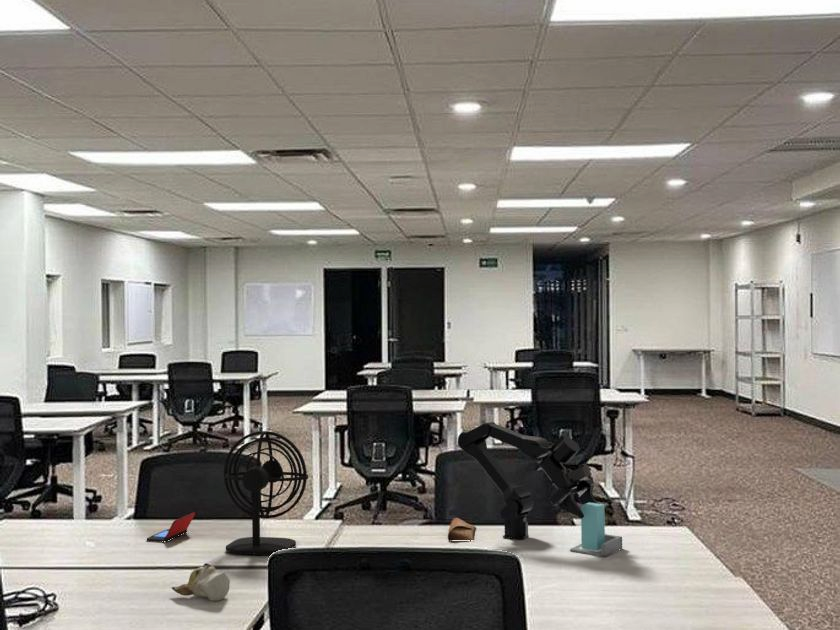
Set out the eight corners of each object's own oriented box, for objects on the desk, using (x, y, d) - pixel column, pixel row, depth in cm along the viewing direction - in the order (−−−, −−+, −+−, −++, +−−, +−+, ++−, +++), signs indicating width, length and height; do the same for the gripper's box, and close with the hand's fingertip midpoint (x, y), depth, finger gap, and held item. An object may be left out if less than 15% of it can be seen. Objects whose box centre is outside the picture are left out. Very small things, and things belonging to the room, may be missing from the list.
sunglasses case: (475, 541, 262) (464, 522, 262) (456, 552, 262) (444, 534, 263) (476, 527, 280) (465, 509, 280) (458, 538, 280) (447, 520, 281)
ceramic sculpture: (207, 571, 205) (168, 565, 214) (208, 607, 205) (169, 600, 214) (241, 561, 214) (202, 555, 222) (242, 596, 213) (203, 589, 222)
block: (581, 548, 250) (580, 505, 250) (589, 544, 254) (588, 502, 254) (597, 550, 247) (596, 507, 247) (604, 547, 251) (604, 504, 251)
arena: (570, 551, 250) (569, 539, 250) (587, 542, 258) (587, 531, 258) (605, 557, 243) (604, 544, 243) (622, 548, 252) (622, 536, 252)
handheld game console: (167, 532, 281) (167, 509, 281) (196, 534, 278) (196, 511, 278) (144, 542, 269) (144, 518, 269) (174, 544, 266) (174, 520, 266)
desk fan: (315, 542, 264) (313, 429, 264) (295, 557, 247) (293, 437, 247) (233, 539, 270) (231, 428, 270) (208, 554, 253) (207, 435, 253)
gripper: (558, 460, 247) (593, 503, 240) (588, 451, 262) (622, 492, 255) (535, 484, 252) (568, 527, 245) (565, 474, 267) (598, 514, 260)
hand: (590, 514), depth 251 cm, fingers open, 9 cm apart
